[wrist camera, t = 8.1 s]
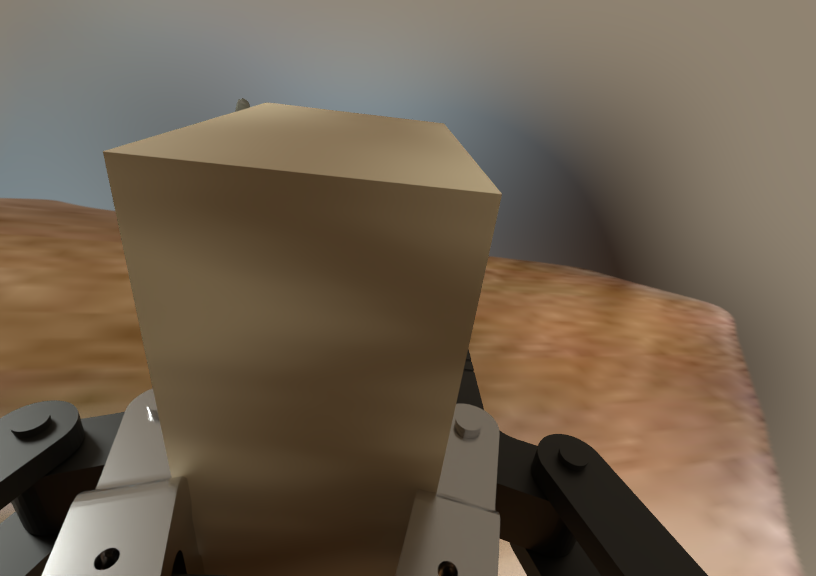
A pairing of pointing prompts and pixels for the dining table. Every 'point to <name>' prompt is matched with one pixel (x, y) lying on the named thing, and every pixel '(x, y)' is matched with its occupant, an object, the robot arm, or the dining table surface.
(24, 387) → the dining table surface
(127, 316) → the dining table surface
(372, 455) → the tan wooden block
